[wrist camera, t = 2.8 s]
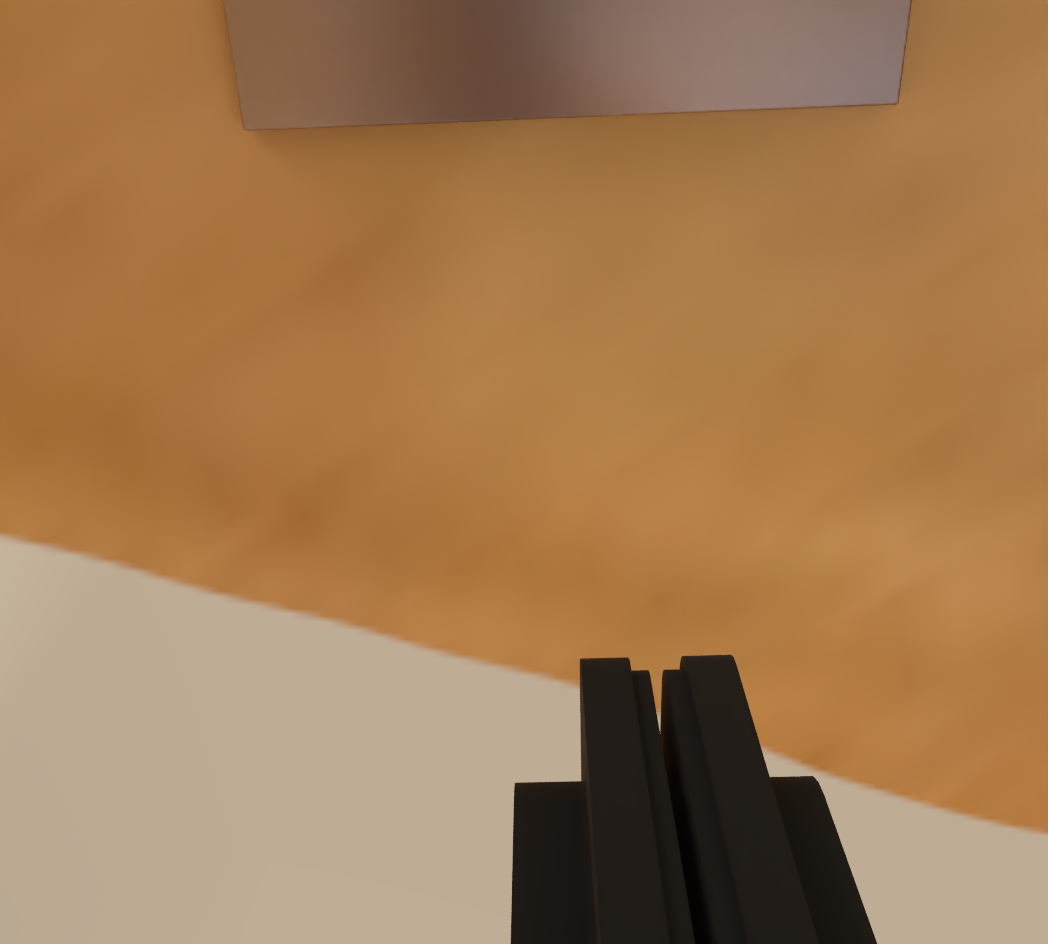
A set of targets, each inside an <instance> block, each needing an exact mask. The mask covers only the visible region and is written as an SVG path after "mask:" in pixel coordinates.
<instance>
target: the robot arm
mask: <svg viewBox="0 0 1048 944" xmlns="http://www.w3.org/2000/svg"><path fill="white" fill-rule="evenodd" d="M580 713H581V780H582V781H579V782H533V783H515V791H514V826H513V828H514V829H513V872H512V919H511V921H512V922H511V944H877V942H876V939H875V937H874V934H873V931H872V928H871V925H870V922H869V920H868V917H867V914H866V911H865V908H864V906H863V903H862V900H861V897H860V894H859V892H858V889H857V886H856V883H855V881H854V878H853V875H852V872H851V869H850V866H849V864H848V861H847V858H846V855H845V852H844V850H843V847H842V844H841V842H840V838H839V836H838V833H837V830H836V827H835V824H834V822H833V819H832V816H831V813H830V810H829V808H828V805H827V803H826V799H825V796H824V794H823V792H822V789H821V787H820V785H819V782H818V781H817V780H816V779H815V778H814V777H813V776H803V777H802V776H801V777H769V774H768V770H767V767H766V763H765V760H764V757H763V753H762V750H761V746H760V743H759V740H758V736H757V733H756V730H755V726H754V723H753V719H752V716H751V713H750V709H749V706H748V703H747V699H746V696H745V692H744V689H743V686H742V682H741V679H740V676H739V672H738V669H737V665H736V662H735V660H734V657H733V656H732V655H709V656H682V658H681V662H680V670H664V671H663V675H662V700H661V731H659V726H658V720H657V714H656V708H655V702H654V696H653V690H652V684H651V678H650V673H649V671H648V670H640V671H631V666H630V660H629V658H590V659H580ZM660 733H661V734H660Z"/></svg>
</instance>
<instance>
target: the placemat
mask: <svg viewBox="0 0 1048 944" xmlns="http://www.w3.org/2000/svg"><path fill="white" fill-rule="evenodd" d="M911 3H912V0H223V5H224V11H225V17H226V23H227V29H228V35H229V42H230V48H231V54H232V60H233V66H234V73H235V79H236V85H237V91H238V97H239V103H240V110H241V116H242V122H243V128H244V130H246V131H249V130H274V129H299V128H324V127H349V126H374V125H399V124H424V123H449V122H474V121H499V120H524V119H549V118H574V117H599V116H624V115H649V114H674V113H699V112H724V111H749V110H774V109H799V108H824V107H849V106H874V105H896V104H898V102H899V94H900V86H901V79H902V71H903V63H904V56H905V48H906V41H907V33H908V25H909V18H910V10H911Z"/></svg>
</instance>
